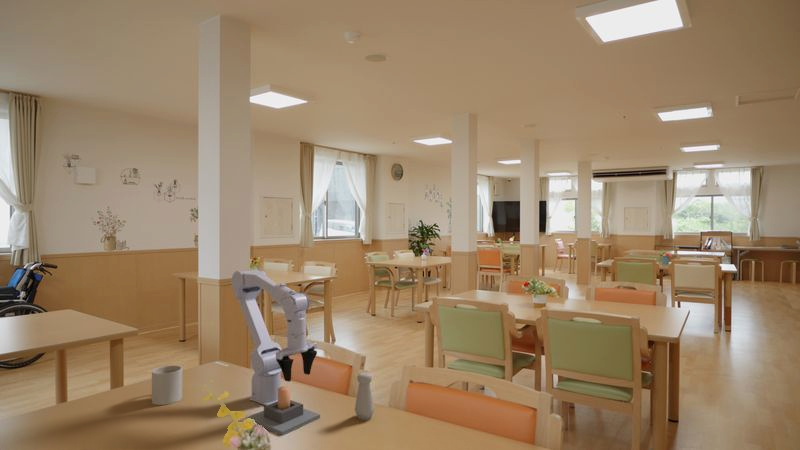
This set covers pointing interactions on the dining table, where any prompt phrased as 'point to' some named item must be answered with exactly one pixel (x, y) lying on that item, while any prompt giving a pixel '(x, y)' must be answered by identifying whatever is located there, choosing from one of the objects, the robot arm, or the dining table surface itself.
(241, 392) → the dining table surface
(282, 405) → the peg
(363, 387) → the salt shaker
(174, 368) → the grey cup
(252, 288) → the robot arm
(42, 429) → the dining table surface
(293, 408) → the socket board
